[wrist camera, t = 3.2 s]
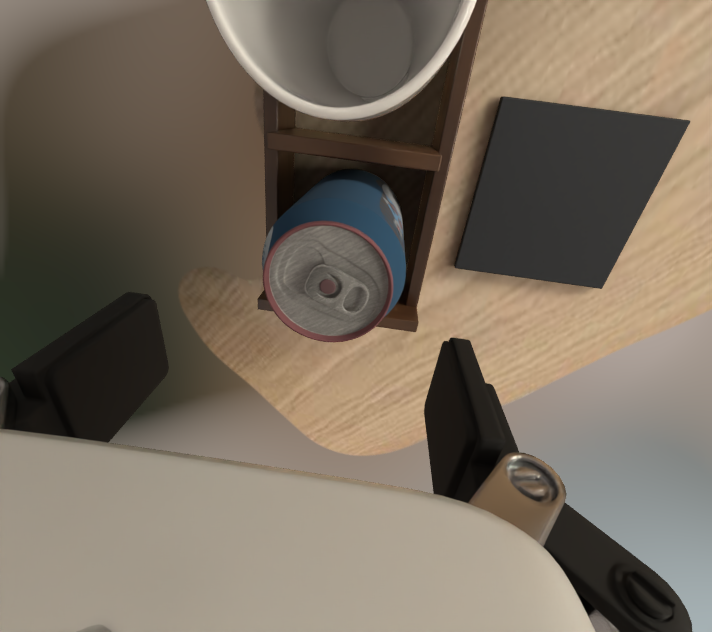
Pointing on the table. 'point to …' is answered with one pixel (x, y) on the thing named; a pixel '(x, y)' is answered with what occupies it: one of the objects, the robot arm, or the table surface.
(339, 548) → the robot arm
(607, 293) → the table surface
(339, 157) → the drinks rack
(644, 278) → the table surface
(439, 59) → the white tall tumbler
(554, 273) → the coaster
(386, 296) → the soda can
